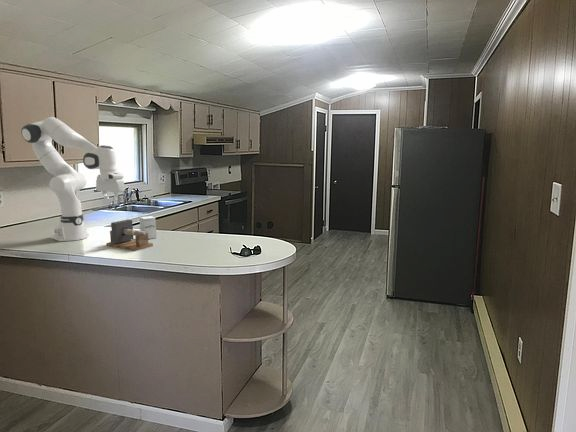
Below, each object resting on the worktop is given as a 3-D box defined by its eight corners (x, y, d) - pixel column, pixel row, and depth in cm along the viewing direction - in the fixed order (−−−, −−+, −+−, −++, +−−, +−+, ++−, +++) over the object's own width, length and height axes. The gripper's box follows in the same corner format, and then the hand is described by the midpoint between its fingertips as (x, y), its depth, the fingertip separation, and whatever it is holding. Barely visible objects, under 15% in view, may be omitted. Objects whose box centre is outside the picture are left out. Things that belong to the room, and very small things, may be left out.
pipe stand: (106, 245, 256) (105, 229, 255) (124, 241, 266) (122, 225, 265) (135, 250, 244) (134, 233, 242) (153, 246, 254) (151, 229, 252)
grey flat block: (112, 242, 254) (111, 222, 252) (128, 238, 263) (127, 219, 261) (117, 243, 252) (115, 223, 250) (133, 238, 261) (132, 220, 259)
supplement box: (144, 240, 269) (143, 218, 267) (140, 237, 275) (138, 217, 273) (157, 238, 273) (155, 217, 271) (152, 236, 279) (151, 215, 277)
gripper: (92, 175, 257) (94, 199, 260) (115, 176, 247) (118, 201, 249) (101, 174, 263) (104, 197, 265) (125, 175, 252) (127, 200, 254)
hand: (111, 199), depth 257 cm, fingers open, 6 cm apart
